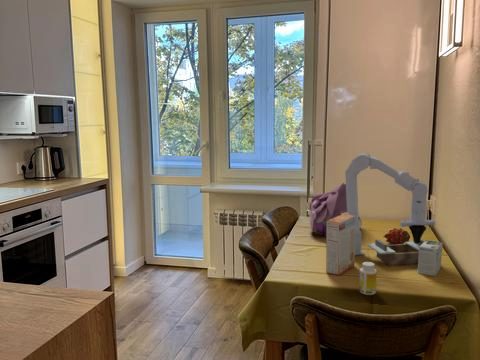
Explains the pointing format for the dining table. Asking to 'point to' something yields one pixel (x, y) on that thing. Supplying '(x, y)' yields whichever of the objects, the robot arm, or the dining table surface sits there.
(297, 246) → the dining table surface
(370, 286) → the supplement bottle
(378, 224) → the dining table surface
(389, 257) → the walnut box
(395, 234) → the dragon fruit
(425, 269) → the light bulb box
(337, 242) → the cracker box
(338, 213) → the purple cloth
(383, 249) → the lid left
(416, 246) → the lid right
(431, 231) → the dining table surface
